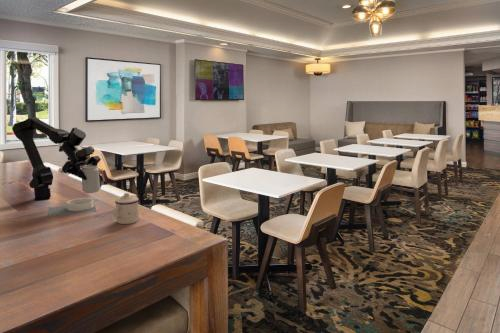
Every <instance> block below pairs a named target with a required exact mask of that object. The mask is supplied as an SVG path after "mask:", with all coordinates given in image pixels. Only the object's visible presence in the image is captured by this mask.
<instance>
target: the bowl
mask: <svg viewBox="0 0 500 333" xmlns="http://www.w3.org/2000/svg"><path fill="white" fill-rule="evenodd" d="M94 204H95V199H94V198H91V197H80V198H74V199H70V200H68V201H66V206H67V210H69V211H84V210H89V209H92V208H93V207H94Z"/></svg>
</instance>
